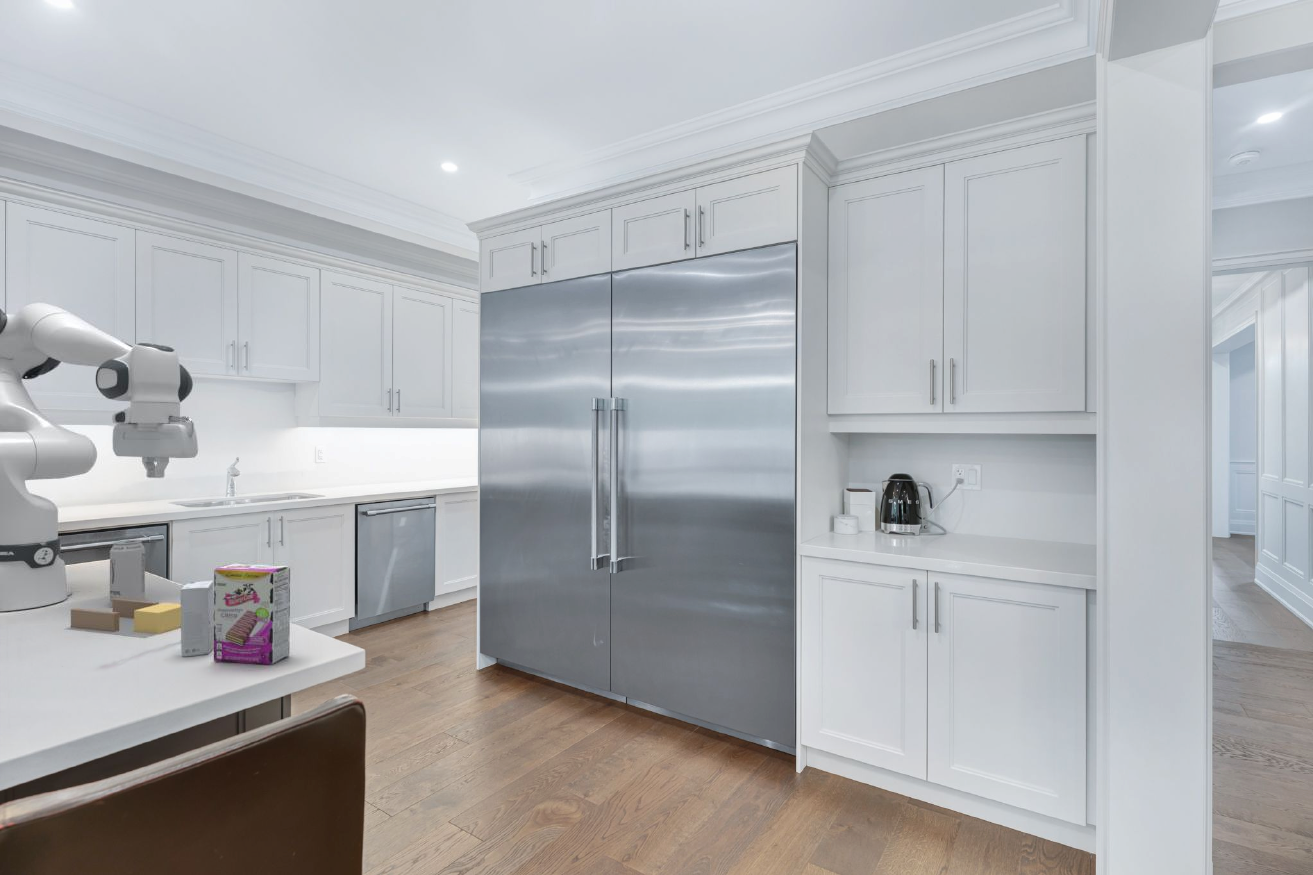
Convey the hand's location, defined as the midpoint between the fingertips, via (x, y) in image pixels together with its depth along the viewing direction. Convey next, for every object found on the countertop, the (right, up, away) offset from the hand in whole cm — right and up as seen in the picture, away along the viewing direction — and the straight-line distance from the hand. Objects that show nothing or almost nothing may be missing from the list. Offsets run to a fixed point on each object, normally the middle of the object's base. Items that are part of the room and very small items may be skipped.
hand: (155, 477), depth 146 cm
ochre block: (+15, -29, -18) cm, 37 cm away
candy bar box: (+41, -30, -31) cm, 60 cm away
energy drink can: (-5, -29, -2) cm, 30 cm away
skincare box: (+29, -30, -27) cm, 50 cm away
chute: (+8, -29, -16) cm, 34 cm away
